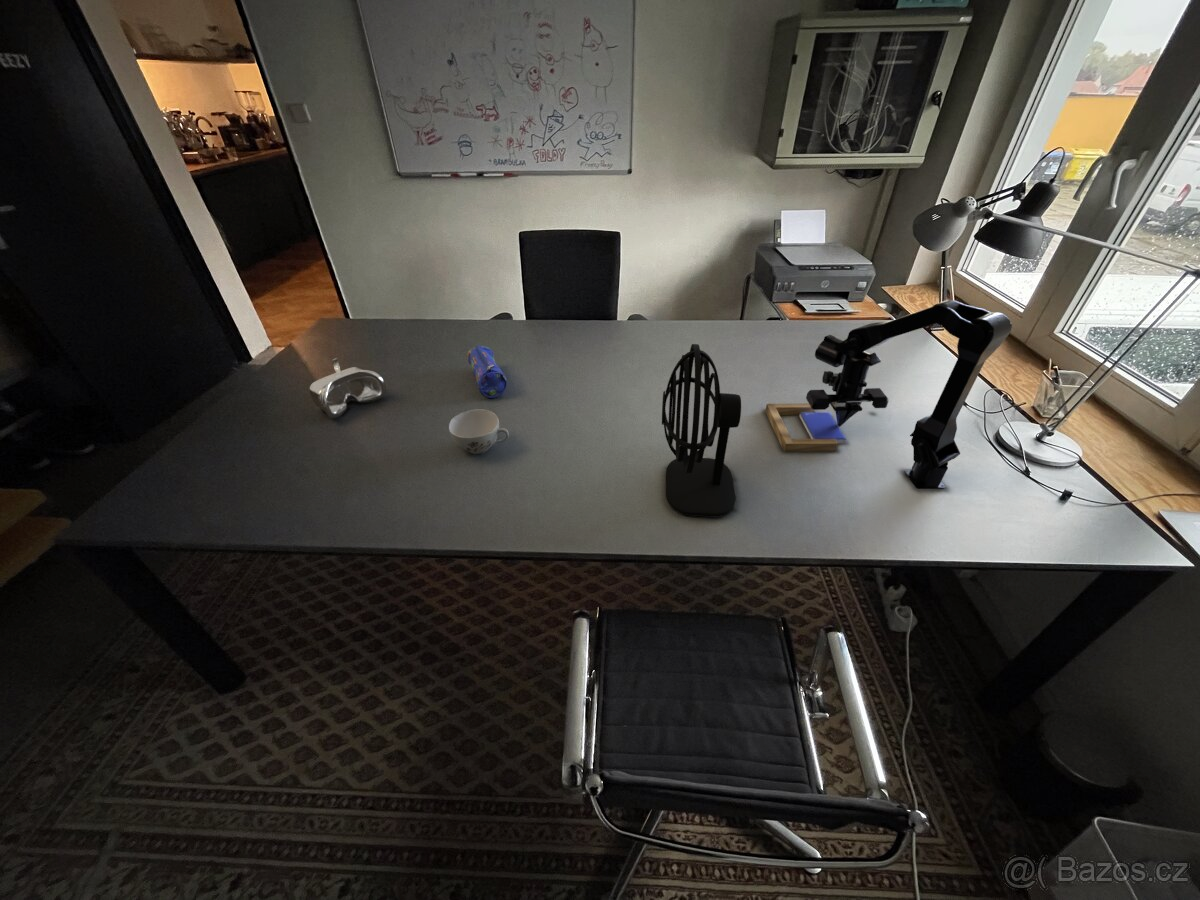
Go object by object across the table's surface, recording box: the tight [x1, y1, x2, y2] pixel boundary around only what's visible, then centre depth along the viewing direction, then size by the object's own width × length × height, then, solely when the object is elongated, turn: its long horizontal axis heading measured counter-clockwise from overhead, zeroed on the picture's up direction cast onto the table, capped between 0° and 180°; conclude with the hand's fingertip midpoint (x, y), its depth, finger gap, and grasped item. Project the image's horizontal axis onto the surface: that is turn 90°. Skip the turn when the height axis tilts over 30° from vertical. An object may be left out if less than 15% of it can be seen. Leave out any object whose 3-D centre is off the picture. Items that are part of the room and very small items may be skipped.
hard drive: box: [799, 411, 847, 444], centre depth 135 cm, size 2×8×12 cm
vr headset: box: [309, 357, 387, 419], centre depth 145 cm, size 18×11×14 cm, turn 139°
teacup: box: [448, 408, 510, 455], centre depth 129 cm, size 15×12×8 cm
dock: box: [764, 402, 839, 453], centre depth 135 cm, size 19×13×2 cm
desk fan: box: [661, 343, 742, 518], centre depth 107 cm, size 27×18×35 cm, turn 174°
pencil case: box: [466, 345, 508, 399], centre depth 156 cm, size 22×9×10 cm, turn 22°
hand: (838, 425), depth 135 cm, fingers closed
